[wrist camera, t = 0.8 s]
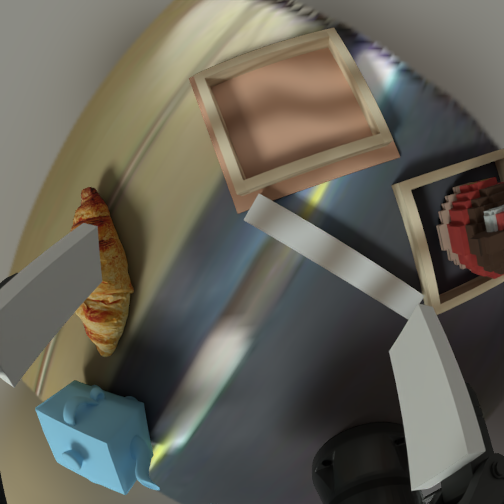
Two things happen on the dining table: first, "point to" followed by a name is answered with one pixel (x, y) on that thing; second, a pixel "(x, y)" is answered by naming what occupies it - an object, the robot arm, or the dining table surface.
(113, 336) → the croissant
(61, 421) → the teapot
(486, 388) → the dining table surface
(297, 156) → the square wooden frames
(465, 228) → the cake
